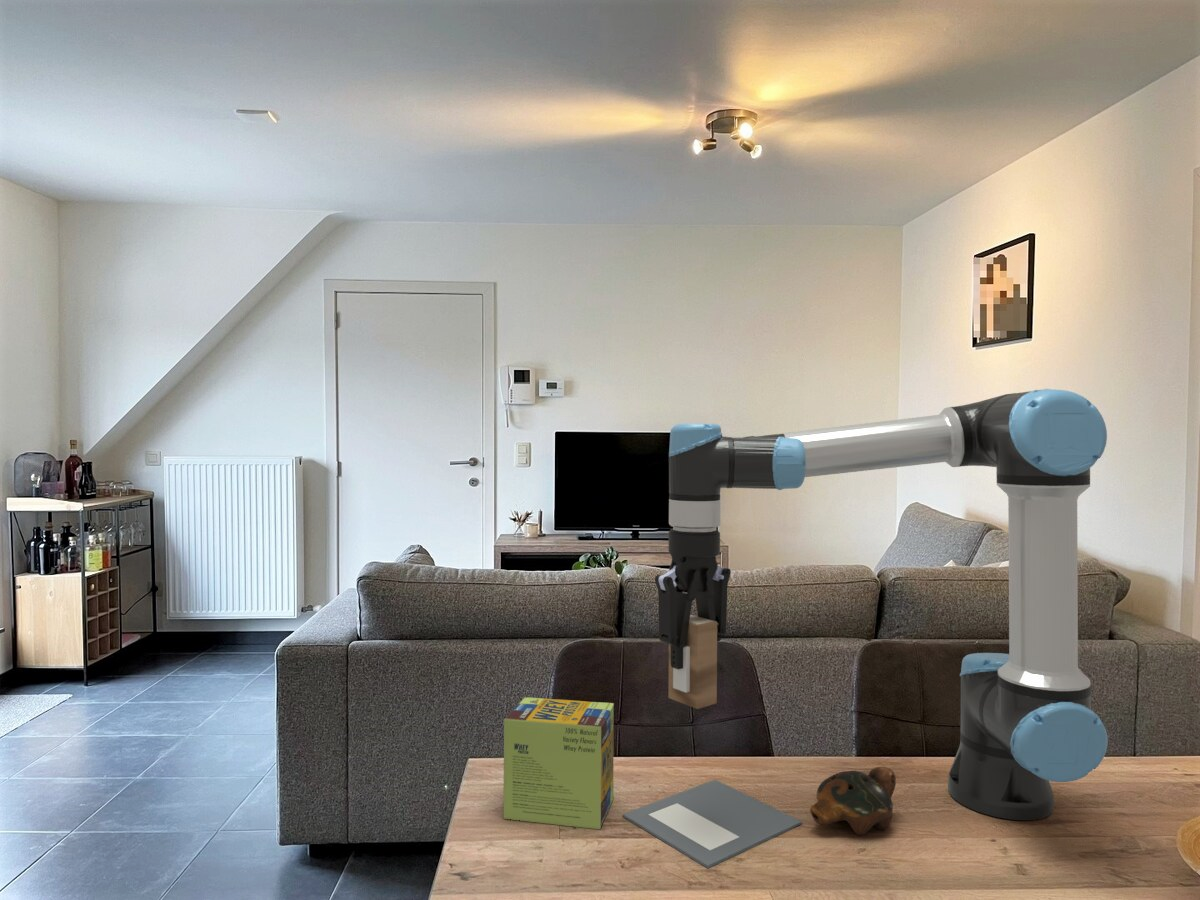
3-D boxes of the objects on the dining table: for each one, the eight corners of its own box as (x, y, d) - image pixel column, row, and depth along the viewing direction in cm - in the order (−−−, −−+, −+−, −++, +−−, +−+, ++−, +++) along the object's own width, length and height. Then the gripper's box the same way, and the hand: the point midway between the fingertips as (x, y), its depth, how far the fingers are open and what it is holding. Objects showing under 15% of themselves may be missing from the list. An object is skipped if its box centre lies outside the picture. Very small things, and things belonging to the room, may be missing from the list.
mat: (802, 823, 118) (802, 820, 118) (707, 868, 106) (707, 865, 106) (714, 781, 132) (714, 779, 132) (622, 816, 120) (622, 813, 120)
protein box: (602, 830, 116) (602, 726, 116) (502, 820, 119) (502, 718, 119) (615, 798, 126) (615, 702, 126) (522, 789, 129) (522, 695, 129)
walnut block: (716, 703, 115) (717, 620, 115) (697, 709, 113) (697, 624, 113) (687, 692, 120) (688, 613, 120) (668, 697, 118) (669, 617, 117)
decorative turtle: (916, 826, 118) (917, 774, 117) (843, 859, 110) (843, 805, 110) (865, 796, 126) (865, 748, 125) (794, 825, 119) (794, 775, 118)
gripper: (716, 522, 124) (715, 670, 124) (633, 529, 114) (632, 691, 114) (752, 526, 118) (751, 682, 119) (668, 535, 108) (667, 705, 108)
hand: (692, 686), depth 116 cm, fingers closed on walnut block, 4 cm apart
